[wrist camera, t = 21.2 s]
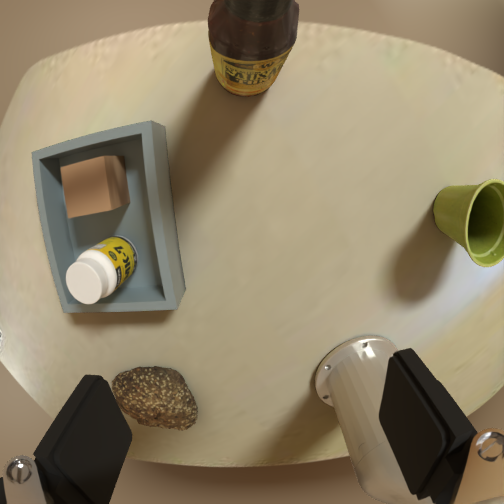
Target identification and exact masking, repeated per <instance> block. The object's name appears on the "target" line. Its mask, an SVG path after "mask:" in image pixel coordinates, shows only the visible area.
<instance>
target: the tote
mask: <svg viewBox="0 0 504 504" xmlns="http://www.w3.org/2000/svg"><path fill="white" fill-rule="evenodd" d="M101 156H124V159H125V167H126V174H127V182H128V189H129V196H130V203H128V204H125V205H123V206H120V207H118V208H116V209H113V210H110V211H104V212H99V213H93V214H88V215H83V216H78V217H73V218H68V213H67V208H66V202H65V196H64V189H63V183H62V175H61V167H64V166H67V165H71V164H74V163H78V162H82V161H85V160H89V159H93V158H97V157H101ZM32 162H33V172H34V181H35V189H36V196H37V203H38V209H39V215H40V221H41V226H42V232H43V237H44V241H45V246H46V250H47V255H48V259H49V263H50V267H51V271H52V275H53V278H54V282H55V286H56V289H57V292H58V296H59V299H60V302H61V305H62V309H63V312H64V313H74V312H126V311H153V310H174V309H178V307H179V304H180V302H181V299H182V297H183V295H184V292H185V290H186V287H185V281H184V275H183V269H182V263H181V256H180V250H179V243H178V236H177V229H176V222H175V214H174V207H173V199H172V190H171V182H170V173H169V163H168V153H167V142H166V130H165V126H163V125H161V124H159V123H156V122H154V121H146V122H141V123H136V124H131V125H127V126H122V127H118V128H113V129H109V130H105V131H101V132H97V133H93V134H89V135H86V136H82V137H79V138H75V139H72V140H68V141H65V142H62V143H58V144H55V145H52V146H49V147H46V148H43V149H40V150H37V151H34V152H32ZM112 236H123V237H125V238H127V239H128V240H130V241H131V242H132V244H133V245H134V246H135V248H136V250H137V254H138V265H137V267H136V269H135V271H134V272H133V273H132V274H131V275H130V276H129V277H128V278H127V279H126V280H125V281H124V282H123V283H122V284H121V285H120V286H119V287H118V288H117V289H116V290H115V291H114V292H112V293H111V294H110V295H109V296H107V297H104V298H100V299H99V300H98V301H97V302H95V303H93V304H84V303H81V302H79V301H78V300H77V299H75V298H74V297H73V295H72V294H71V293H70V291H69V289H68V287H67V284H66V273H67V270H68V268H69V267H70V266H71V265H72V264H73V263H75V262H76V261H77V259H78V257H79V256H80V255H81V254H82V253H83V252H85V251H86V250H88V249H90V248H91V247H93V246H95V245H97V244H98V243H100V242H102V241H104V240H106V239H107V238H109V237H112Z"/></svg>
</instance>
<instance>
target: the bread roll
mask: <svg viewBox="0 0 504 504" xmlns="http://www.w3.org/2000/svg"><path fill="white" fill-rule="evenodd" d="M112 384H113V386H112V390H113V392H114V394H115V396H116V401H117V404H118V405H119V407H120V408H121V409H122V410H123V411H124V412H125V413H126V414H129V415H130V416H131V417H133V418H135V419H137V421H138V423H139V424H143V425H147V426H150V427H151V426H152V427H156V426H158V427H161V428H169V429H171V428H174V429H178V430H185V429H186V430H187V429H188V428H189V427H191V426H192V425H193V424H195V423H196V422H195V420H197V412H198V411H197V406H196V403H195V400H194V397H193V395H192V394H191V392H190V390H189V389H188V386H187V385H186V383H185V380H184V378H183V377H182V375H181V374H180V373H179V372H177V371H176V370H172V369H171V368H162V367H157V366H154V367H137V368H135V369H132V370H131V371H125V372H123V373H119V374H118V375H117V376H116V377H115V379H114V380H113V381H112Z"/></svg>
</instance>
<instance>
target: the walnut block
mask: <svg viewBox="0 0 504 504" xmlns="http://www.w3.org/2000/svg"><path fill="white" fill-rule="evenodd" d="M61 175H62V183H63V189H64V196H65V202H66V208H67V213H68V218H73V217H78V216H83V215H88V214H93V213H99V212H104V211H110V210H113V209H116V208H118V207H120V206H123V205H125V204H128V203H130V196H129V189H128V182H127V174H126V167H125V159H124V156H101V157H97V158H93V159H89V160H85V161H82V162H78V163H74V164H71V165H67V166H64V167H61Z"/></svg>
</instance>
